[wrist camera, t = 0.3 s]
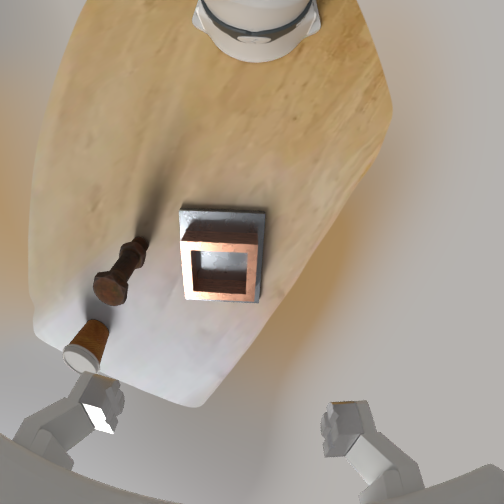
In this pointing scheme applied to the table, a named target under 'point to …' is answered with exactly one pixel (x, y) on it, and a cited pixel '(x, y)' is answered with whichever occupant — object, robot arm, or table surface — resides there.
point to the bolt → (120, 273)
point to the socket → (222, 254)
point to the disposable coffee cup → (87, 348)
